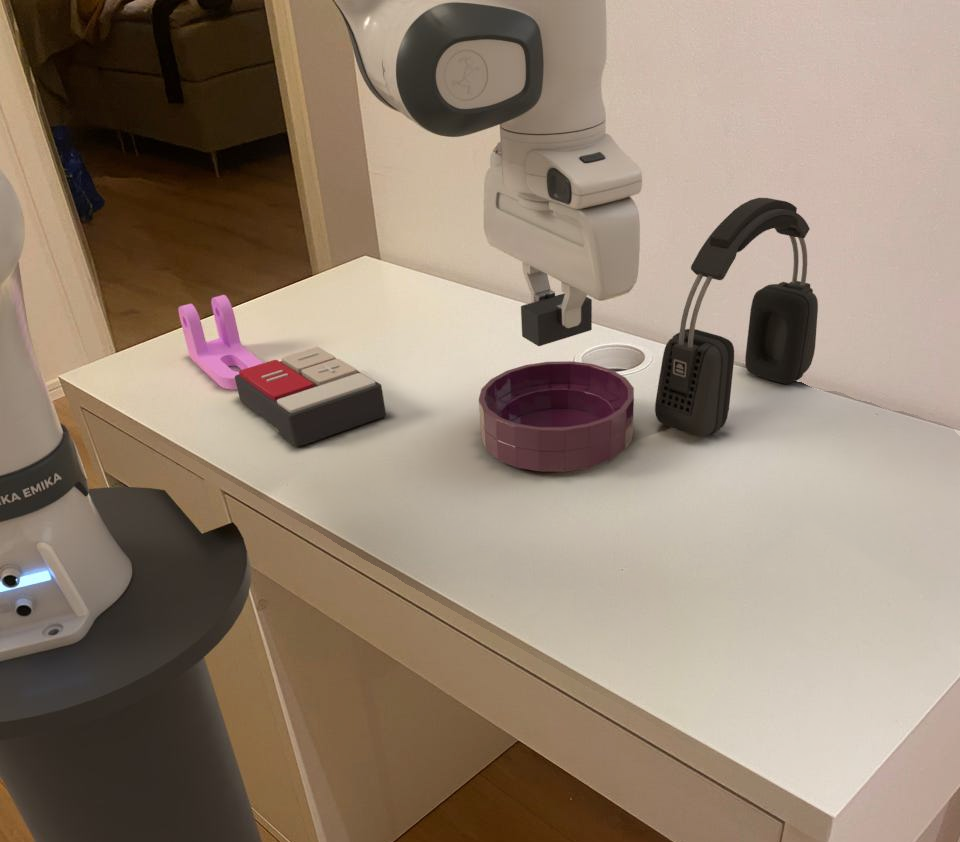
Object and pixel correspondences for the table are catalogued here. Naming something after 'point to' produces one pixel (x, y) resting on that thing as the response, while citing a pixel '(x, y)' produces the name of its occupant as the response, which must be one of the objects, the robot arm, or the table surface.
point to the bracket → (216, 343)
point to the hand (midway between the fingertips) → (556, 317)
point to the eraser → (551, 321)
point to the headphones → (771, 335)
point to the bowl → (556, 416)
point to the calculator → (310, 395)
